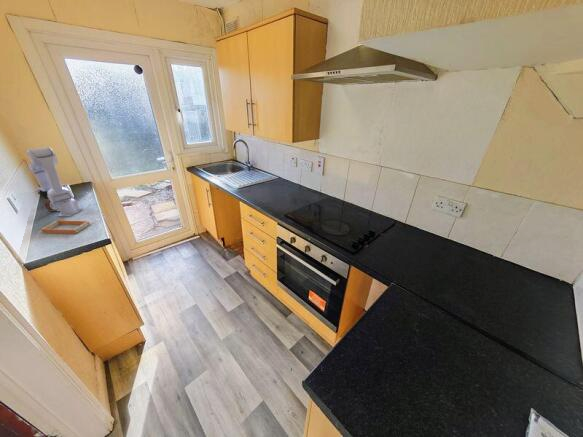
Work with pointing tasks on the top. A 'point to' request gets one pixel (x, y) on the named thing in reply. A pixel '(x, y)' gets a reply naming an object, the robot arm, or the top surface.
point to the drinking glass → (68, 188)
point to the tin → (50, 205)
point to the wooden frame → (49, 229)
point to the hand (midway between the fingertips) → (55, 200)
